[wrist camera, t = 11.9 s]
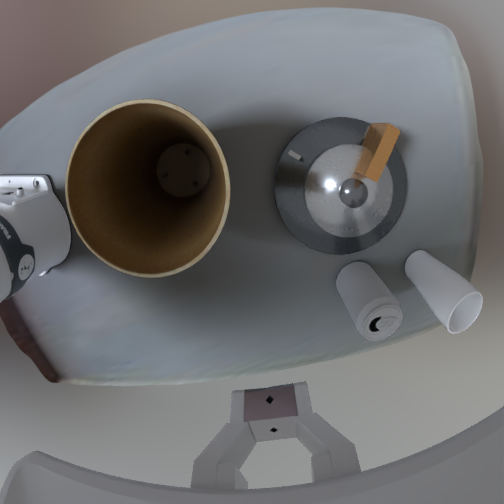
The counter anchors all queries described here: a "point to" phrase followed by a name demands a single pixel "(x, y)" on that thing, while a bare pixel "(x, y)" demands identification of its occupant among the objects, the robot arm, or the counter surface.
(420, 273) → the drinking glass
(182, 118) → the plant pot
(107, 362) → the counter surface
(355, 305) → the beverage can
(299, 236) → the dial plate
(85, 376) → the counter surface
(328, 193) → the dial
